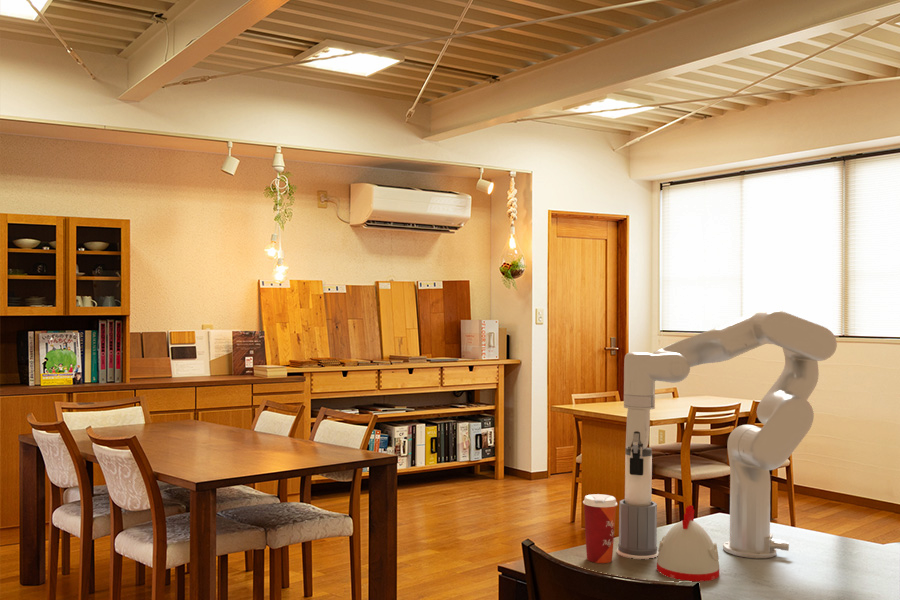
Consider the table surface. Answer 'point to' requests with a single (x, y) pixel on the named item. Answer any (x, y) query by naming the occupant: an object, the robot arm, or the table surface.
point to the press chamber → (637, 531)
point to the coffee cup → (599, 527)
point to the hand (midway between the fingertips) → (638, 471)
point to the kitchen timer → (688, 552)
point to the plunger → (638, 481)
